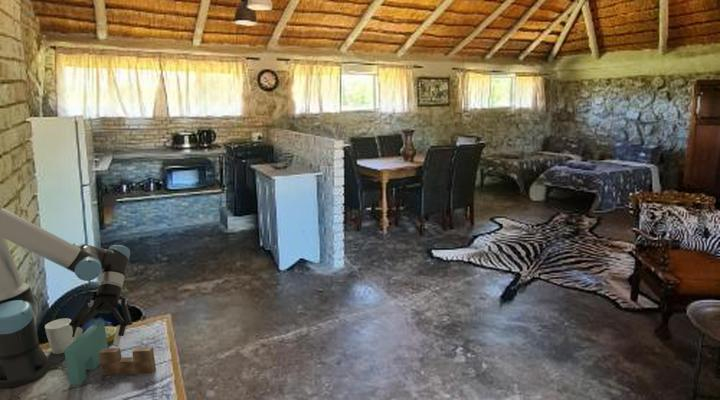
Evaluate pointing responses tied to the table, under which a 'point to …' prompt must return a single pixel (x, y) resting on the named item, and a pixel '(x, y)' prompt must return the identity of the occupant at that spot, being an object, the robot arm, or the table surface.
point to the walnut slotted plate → (127, 361)
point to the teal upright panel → (85, 352)
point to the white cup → (59, 335)
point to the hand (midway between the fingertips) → (95, 346)
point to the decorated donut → (110, 333)
